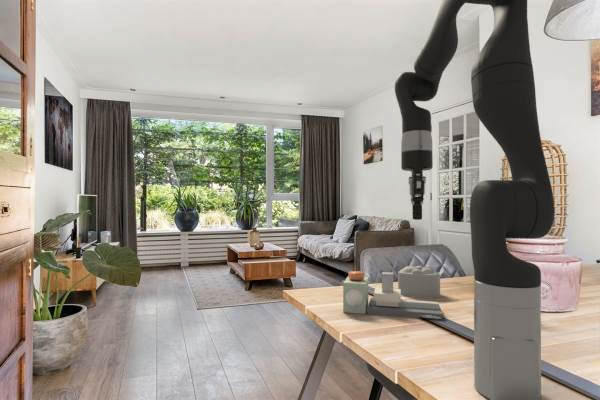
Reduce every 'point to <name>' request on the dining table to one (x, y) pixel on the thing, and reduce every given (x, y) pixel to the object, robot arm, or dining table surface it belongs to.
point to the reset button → (356, 275)
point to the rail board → (406, 309)
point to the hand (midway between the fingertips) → (417, 219)
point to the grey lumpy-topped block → (419, 282)
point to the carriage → (387, 292)
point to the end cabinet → (355, 295)
